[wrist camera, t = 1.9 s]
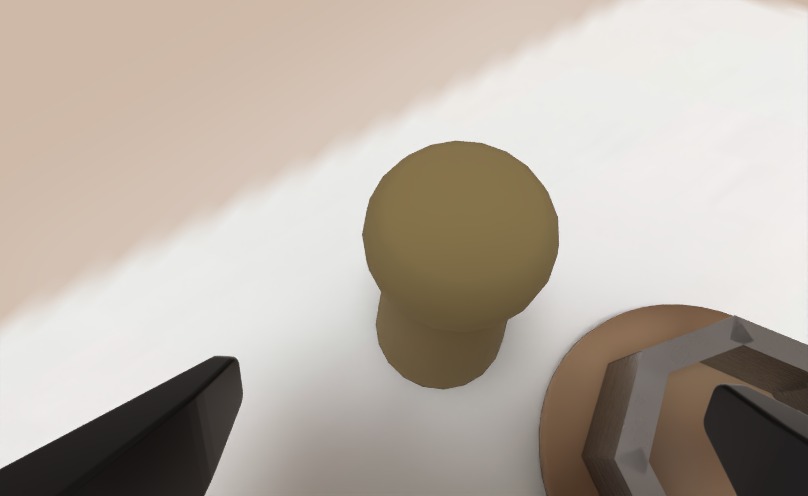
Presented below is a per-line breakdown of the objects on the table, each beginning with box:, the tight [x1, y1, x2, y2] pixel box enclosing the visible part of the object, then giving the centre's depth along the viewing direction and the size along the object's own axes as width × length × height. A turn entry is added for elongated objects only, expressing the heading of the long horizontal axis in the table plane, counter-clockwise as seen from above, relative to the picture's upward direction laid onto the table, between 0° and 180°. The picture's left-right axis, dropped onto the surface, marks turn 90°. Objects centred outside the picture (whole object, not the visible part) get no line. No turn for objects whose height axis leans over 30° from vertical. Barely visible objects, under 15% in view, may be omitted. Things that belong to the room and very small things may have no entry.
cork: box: [362, 141, 559, 389], centre depth 15 cm, size 6×6×11 cm
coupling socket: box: [539, 305, 808, 496], centre depth 15 cm, size 13×13×4 cm
